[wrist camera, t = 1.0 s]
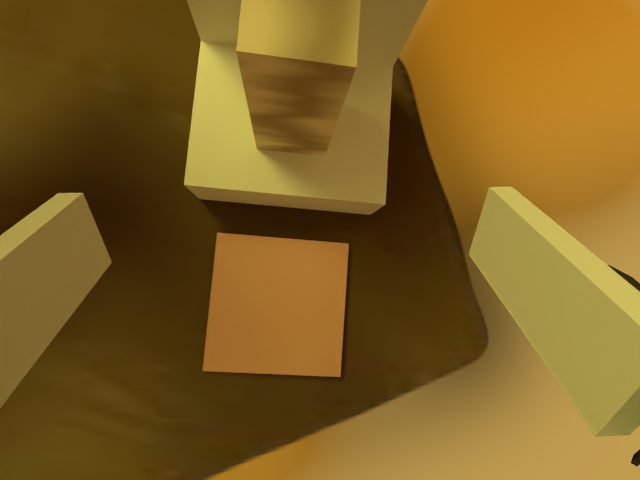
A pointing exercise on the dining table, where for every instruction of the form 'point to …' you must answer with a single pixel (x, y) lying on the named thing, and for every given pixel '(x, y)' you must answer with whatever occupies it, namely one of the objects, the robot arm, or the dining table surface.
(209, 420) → the dining table surface
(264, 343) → the tile pad
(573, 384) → the robot arm
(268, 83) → the maple block
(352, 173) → the l-shaped bookend
